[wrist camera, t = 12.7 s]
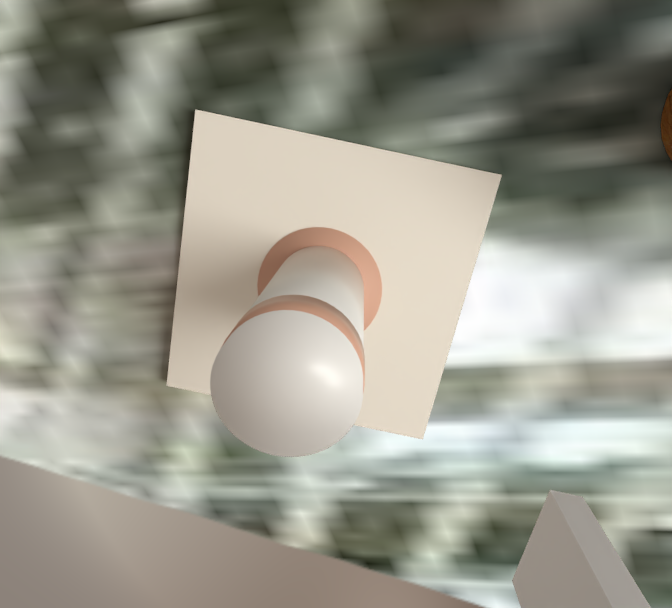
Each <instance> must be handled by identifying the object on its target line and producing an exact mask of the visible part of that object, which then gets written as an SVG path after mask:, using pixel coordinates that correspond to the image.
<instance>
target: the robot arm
mask: <svg viewBox="0 0 672 608" xmlns="http://www.w3.org/2000/svg"><path fill="white" fill-rule="evenodd" d="M512 582H513V585H514V588H515V591H516V594H517V597H518V600H519V603H520V606H521V608H651V607H650V606H649V604H648V602H647V601H646V599H645V597H644V596H643V594H642V593H641V591H640V589H639V588H638V586H637V584H636V583H635V581H634V580H633V578H632V576H631V575H630V573H629V571H628V570H627V568H626V566H625V565H624V563H623V562H622V560H621V558H620V557H619V555H618V553H617V552H616V550H615V549H614V547H613V545H612V544H611V542H610V540H609V539H608V537H607V535H606V534H605V532H604V531H603V529H602V527H601V526H600V524H599V522H598V521H597V519H596V518H595V516H594V514H593V513H592V511H591V509H590V508H589V506H588V504H587V503H586V501H585V500H584V498H583V497H581V496H577V495H572V494H567V493H563V492H558V491H553V490H550V491H549V493H548V496H547V498H546V501H545V503H544V505H543V508H542V510H541V513H540V515H539V517H538V520H537V522H536V524H535V527H534V529H533V532H532V534H531V536H530V539H529V541H528V544H527V546H526V548H525V551H524V553H523V556H522V558H521V560H520V563H519V565H518V568H517V570H516V572H515V575H514V577H513V580H512Z"/></svg>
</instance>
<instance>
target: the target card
mask: <svg viewBox="0 0 672 608" xmlns="http://www.w3.org/2000/svg"><path fill="white" fill-rule="evenodd" d="M501 176H502V175H500V174H495V173H490V172H486V171H481V170H476V169H472V168H467V167H462V166H458V165H453V164H448V163H444V162H439V161H434V160H430V159H425V158H420V157H415V156H411V155H406V154H401V153H397V152H392V151H387V150H383V149H378V148H373V147H369V146H364V145H359V144H355V143H350V142H345V141H341V140H336V139H331V138H327V137H322V136H317V135H313V134H308V133H303V132H298V131H294V130H289V129H284V128H280V127H275V126H270V125H266V124H261V123H256V122H252V121H247V120H242V119H238V118H233V117H228V116H224V115H219V114H214V113H210V112H205V111H200V110H196V109H195V118H194V128H193V137H192V147H191V156H190V166H189V176H188V185H187V195H186V204H185V214H184V223H183V233H182V242H181V252H180V262H179V271H178V281H177V290H176V300H175V309H174V319H173V328H172V338H171V348H170V357H169V367H168V376H167V386H171V387H176V388H180V389H185V390H190V391H195V392H199V393H204V394H209V395H211V390H210V376H211V370H212V366H213V363H214V360H215V358H216V356H217V354H218V352H219V350H220V349H221V347H222V345H223V343H224V341H225V339H226V338H227V337H228V335H229V334H230V333H231V331H232V330H233V329H234V327H235V326H236V325H237V323H238V322H239V321H240V319H241V318H242V317H243V316H244V315H245V314H246V313H247V312H248V311H249V309H250V308H251V306H252V305H253V304H254V302H255V301H256V300H257V298H258V297H259V295H260V294H261V293H262V291H263V290H264V289H265V287H266V286H267V285H268V283H269V282H270V280H271V279H272V278H273V276H274V275H275V274H276V272H277V271H278V269H279V268H280V267H281V265H282V264H283V263H284V261H285V260H286V259H287V258H288V257H289V256H290V255H292V254H293V253H295V252H296V251H298V250H300V249H303V248H306V247H310V246H327V247H331V248H334V249H337V250H339V251H341V252H342V253H344V254H346V255H347V256H348V257H349V258H350V259H351V260H352V261H353V262H354V263H355V264H356V266H357V267H358V269H359V271H360V273H361V276H362V279H363V283H364V356H365V387H364V392H363V400H362V406H361V409H360V413H359V415H358V417H357V419H356V421H355V423H354V425H357V426H361V427H366V428H371V429H376V430H380V431H385V432H390V433H395V434H400V435H404V436H409V437H414V438H419V439H423V436H424V433H425V430H426V426H427V423H428V420H429V416H430V413H431V410H432V406H433V403H434V400H435V396H436V393H437V390H438V386H439V383H440V380H441V376H442V373H443V370H444V366H445V363H446V360H447V356H448V353H449V350H450V346H451V343H452V340H453V336H454V333H455V330H456V326H457V323H458V320H459V316H460V313H461V310H462V306H463V303H464V300H465V296H466V293H467V290H468V286H469V283H470V280H471V276H472V273H473V270H474V266H475V263H476V260H477V256H478V253H479V250H480V246H481V243H482V240H483V236H484V233H485V230H486V226H487V223H488V220H489V216H490V213H491V210H492V206H493V203H494V200H495V196H496V193H497V190H498V186H499V183H500V180H501Z"/></svg>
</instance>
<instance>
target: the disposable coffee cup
mask: <svg viewBox="0 0 672 608" xmlns="http://www.w3.org/2000/svg"><path fill="white" fill-rule="evenodd" d="M661 136H662V141H663V144H664V146H665V149H666V152H667V154H668V156H669V157H670V159H671V160H672V89H671V91H670V92H669V94H668V96H667V99H666V102H665V106H664V109H663V112H662V118H661Z"/></svg>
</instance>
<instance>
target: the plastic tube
mask: <svg viewBox="0 0 672 608" xmlns="http://www.w3.org/2000/svg"><path fill="white" fill-rule="evenodd" d="M364 387H365V356H364V283H363V279H362V276H361V273H360V271H359V269H358V267H357V266H356V264H355V263H354V262H353V261H352V260H351V259H350V258H349V257H348V256H347V255H346V254H344V253H342V252H341V251H339V250H337V249H334V248H331V247H327V246H310V247H306V248H303V249H300V250H298V251H296V252H295V253H293V254H292V255H290V256H289V257H288V258H287V259H286V260H285V261H284V263H283V264H282V265H281V267H280V268H279V269H278V271H277V272H276V274H275V275H274V276H273V278H272V279H271V280H270V282H269V283H268V285H267V286H266V287H265V289H264V290H263V291H262V293H261V294H260V295H259V297H258V298H257V300H256V301H255V302H254V304H253V305H252V306H251V308H250V309H249V311H248V312H247V313H246V314H245V315H244V316H243V317H242V318H241V319H240V321H239V322H238V323H237V325H236V326H235V327H234V329H233V330H232V331H231V333H230V334H229V335H228V337H227V338H226V339H225V341H224V343H223V345H222V347H221V349H220V350H219V352H218V354H217V356H216V358H215V360H214V363H213V366H212V370H211V376H210V390H211V396H212V401H213V404H214V407H215V409H216V411H217V413H218V415H219V417H220V419H221V420H222V422H223V423H224V425H225V426H226V427H227V428H228V429H229V430H230V432H231V433H232V434H234V435H235V436H236V437H237V438H238V439H239V440H241V441H242V442H244V443H245V444H247V445H248V446H250V447H252V448H254V449H256V450H259V451H261V452H264V453H267V454H271V455H276V456H282V457H300V456H306V455H312V454H315V453H318V452H321V451H323V450H325V449H327V448H329V447H331V446H332V445H334V444H336V443H337V442H338V441H339V440H341V439H342V438H343V437H344V436H345V435H346V434H347V433H348V432H349V431H350V429H351V428H352V426H353V425H354V423H355V421H356V419H357V417H358V415H359V413H360V409H361V406H362V400H363V392H364Z"/></svg>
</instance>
